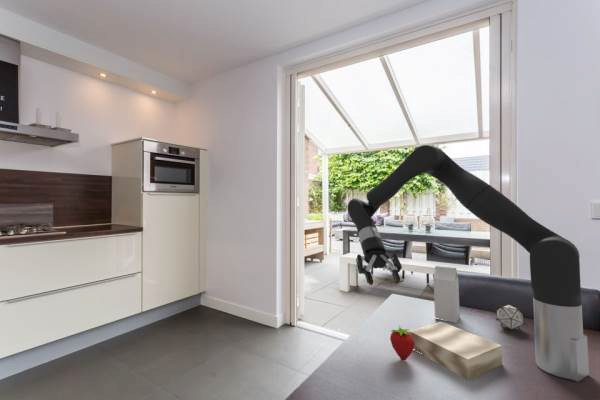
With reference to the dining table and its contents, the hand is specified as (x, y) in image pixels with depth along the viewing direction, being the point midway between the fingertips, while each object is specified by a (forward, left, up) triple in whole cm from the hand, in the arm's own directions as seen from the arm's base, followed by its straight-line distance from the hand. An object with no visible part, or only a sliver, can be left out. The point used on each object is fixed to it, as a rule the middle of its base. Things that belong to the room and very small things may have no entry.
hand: (384, 283), depth 91 cm
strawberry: (-11, +5, -18) cm, 22 cm away
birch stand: (-16, -9, -18) cm, 26 cm away
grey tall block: (+2, -31, -18) cm, 36 cm away
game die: (-14, -41, -18) cm, 47 cm away
